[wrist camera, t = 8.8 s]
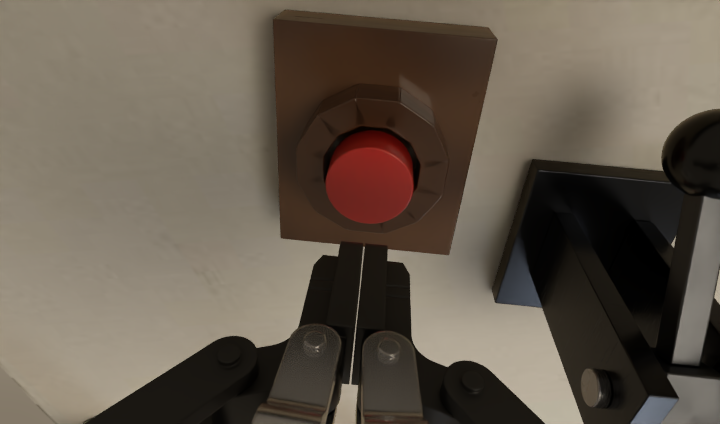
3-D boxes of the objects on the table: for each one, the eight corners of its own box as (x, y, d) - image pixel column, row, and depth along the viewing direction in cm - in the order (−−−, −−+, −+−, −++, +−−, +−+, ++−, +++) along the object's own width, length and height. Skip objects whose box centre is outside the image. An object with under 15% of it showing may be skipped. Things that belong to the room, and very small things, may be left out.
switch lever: (650, 109, 17) (712, 99, 14) (736, 117, 17) (816, 108, 14) (599, 403, 19) (644, 452, 16) (678, 411, 19) (739, 463, 16)
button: (332, 125, 19) (326, 143, 17) (417, 133, 19) (419, 152, 17) (329, 198, 21) (323, 220, 19) (407, 206, 21) (407, 228, 19)
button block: (284, 9, 20) (261, 28, 17) (489, 27, 20) (507, 50, 16) (288, 215, 26) (272, 260, 23) (445, 231, 26) (452, 278, 22)
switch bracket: (531, 158, 23) (629, 341, 13) (691, 173, 23) (912, 371, 13) (491, 289, 28) (540, 493, 18) (622, 302, 28) (743, 516, 18)
